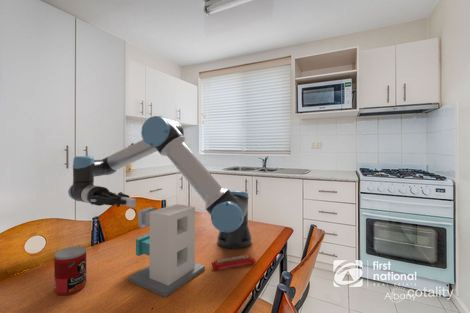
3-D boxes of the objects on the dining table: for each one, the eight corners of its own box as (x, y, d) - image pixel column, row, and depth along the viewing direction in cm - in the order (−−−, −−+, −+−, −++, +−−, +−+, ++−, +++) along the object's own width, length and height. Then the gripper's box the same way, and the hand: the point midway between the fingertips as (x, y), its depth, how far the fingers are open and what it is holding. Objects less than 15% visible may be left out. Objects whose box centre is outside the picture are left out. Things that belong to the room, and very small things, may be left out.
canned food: (71, 297, 65) (70, 258, 65) (47, 294, 67) (46, 255, 67) (92, 282, 73) (92, 247, 73) (71, 279, 75) (70, 244, 74)
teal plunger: (135, 255, 82) (135, 238, 81) (149, 249, 87) (149, 233, 86) (164, 265, 75) (164, 247, 75) (176, 258, 80) (177, 241, 80)
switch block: (128, 280, 74) (128, 211, 73) (170, 258, 90) (170, 200, 89) (165, 297, 66) (165, 219, 65) (204, 269, 82) (205, 206, 81)
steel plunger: (138, 226, 81) (138, 210, 80) (151, 222, 86) (151, 207, 85) (167, 234, 74) (167, 216, 74) (179, 229, 79) (180, 212, 79)
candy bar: (213, 272, 80) (213, 264, 80) (210, 267, 84) (210, 259, 84) (256, 265, 86) (256, 257, 86) (252, 260, 89) (252, 252, 89)
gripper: (111, 201, 103) (148, 209, 92) (79, 207, 92) (117, 217, 80) (111, 184, 103) (148, 190, 91) (79, 188, 92) (117, 195, 80)
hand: (133, 203), depth 86 cm, fingers closed
